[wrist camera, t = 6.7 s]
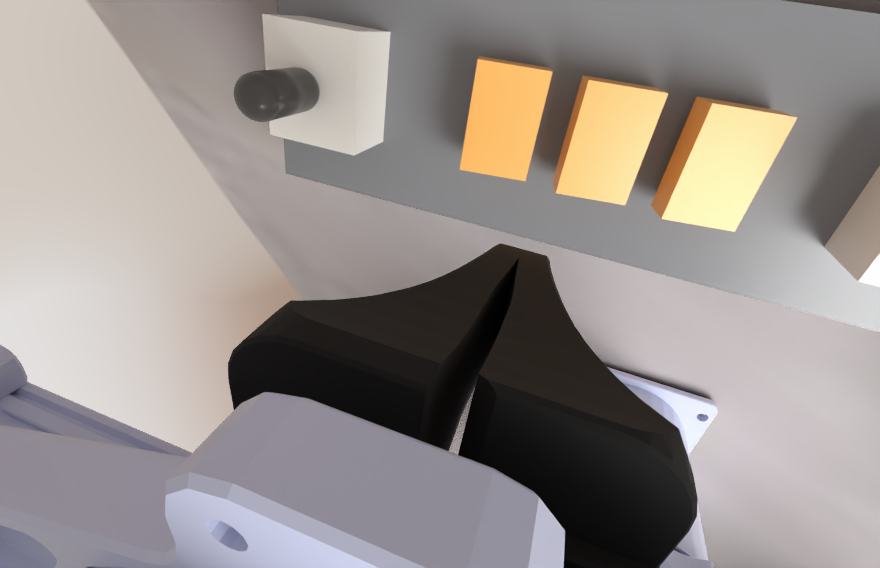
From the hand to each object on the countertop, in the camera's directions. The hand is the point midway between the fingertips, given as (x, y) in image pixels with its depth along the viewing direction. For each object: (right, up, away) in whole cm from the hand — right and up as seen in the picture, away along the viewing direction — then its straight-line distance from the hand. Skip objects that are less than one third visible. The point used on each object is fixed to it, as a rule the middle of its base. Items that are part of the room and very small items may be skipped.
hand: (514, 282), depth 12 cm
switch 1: (0, +6, +5) cm, 8 cm away
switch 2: (+7, +4, +3) cm, 9 cm away
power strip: (+5, +7, +7) cm, 11 cm away
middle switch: (+4, +5, +4) cm, 8 cm away
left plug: (-6, +8, +6) cm, 12 cm away
